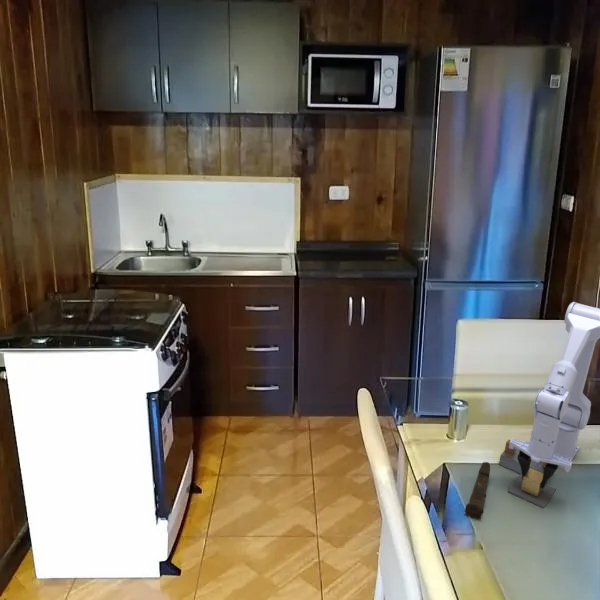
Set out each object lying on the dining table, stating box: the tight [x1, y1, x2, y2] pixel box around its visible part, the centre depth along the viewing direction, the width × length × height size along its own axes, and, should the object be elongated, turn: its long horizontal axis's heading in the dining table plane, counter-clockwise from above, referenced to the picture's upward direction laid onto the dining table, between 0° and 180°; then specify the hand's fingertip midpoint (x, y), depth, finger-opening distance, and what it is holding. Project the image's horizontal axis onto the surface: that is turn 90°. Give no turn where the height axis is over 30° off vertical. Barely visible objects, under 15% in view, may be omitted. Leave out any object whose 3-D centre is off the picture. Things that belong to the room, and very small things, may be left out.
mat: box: [507, 473, 557, 509], centre depth 151 cm, size 9×9×1 cm
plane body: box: [498, 439, 547, 475], centre depth 158 cm, size 6×12×6 cm, turn 51°
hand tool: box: [464, 461, 491, 519], centre depth 148 cm, size 19×4×5 cm, turn 153°
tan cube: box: [521, 468, 543, 496], centre depth 149 cm, size 4×4×4 cm
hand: (533, 482), depth 150 cm, fingers closed on tan cube, 4 cm apart
